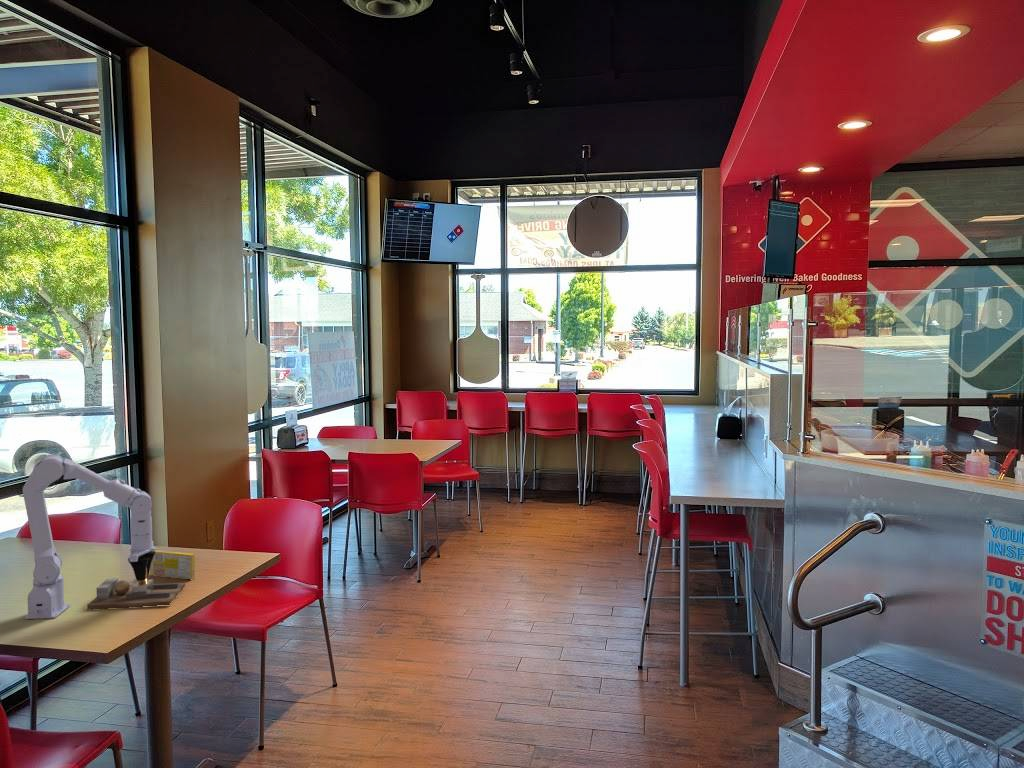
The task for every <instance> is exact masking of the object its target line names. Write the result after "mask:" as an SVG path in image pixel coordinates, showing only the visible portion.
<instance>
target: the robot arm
mask: <svg viewBox="0 0 1024 768" xmlns="http://www.w3.org/2000/svg"><path fill="white" fill-rule="evenodd" d="M62 476H63V480H73V479H76V480H78V481H80V482H83V483H84V484H88V485H90V486H92V487H94V488H96V489H99V490H101V491H103V497H105V498H107V499H108V500H110V501H112V502H114V503H117V504H118V505H120V506H123V507H125V508H129V510H130V513H131V514H130V520H129V521H130V522H129V523H130V526H129V527H130V550H129V553H130V554H129V556H128V559H127V561H128V563H129V565H130V566H131V568H132V570H133V573H134V576H135V579H136V582H138V581H141V580H145V577H146V569H147V578H148V577H149V576H150V566H151V562H152V560H153V557H154V555H155V550H158V547H157V546H154V542H155V541H153V517H152V508H153V501H152V497H151V496H150V494H149V493H147V492H146V491H144V490H141V488H135V487H134V486H131V485H128V484H127V483H126V481H125V480H124V479H120V480H119V479H117V478H116V479H115V478H114V479H113V480H112V479H111V480H109V479H107V478H106V477H104V476H101V475H99V474H98V473H96V472H95V471H92V470H91V469H89V468H87V467H85V466H83V465H81V464H80V463H77V462H76V461H73V460H71V459H69V458H66V457H65V458H64V457H63V456H62V455H59V454H56V453H52V454H51V453H50V454H48V455H45V456H44V457H43V458H42V459H40V460H39V461H38V462H37V463H36V465H35V466H34V467H33V469H32V471H31V473H30V474H29V476H28V478H27V480H26V482H25V484H24V485H23V486H22V495H23V501H24V505H25V509H26V510H25V511H26V515H27V519H28V525H29V530H30V534H31V535H30V536H31V541H32V546H33V547H32V548H33V553H34V555H33V556H34V569H33V572H32V577H33V579H32V589H31V590H30V591H29V593H28V595H27V615H25V616H24V620H32V619H36V620H37V619H38V620H39V619H53V618H54V619H55V618H57V617H58V616H59V615H61V614H62V613H63V612H65V610H67V609H68V608H69V607H70V606H71V603H65V596H64V595H65V594H64V593H65V590H64V575H62V574H61V568H62V566H63V560H62V558H61V557H60V556H59V554H58V553H57V549H56V546H55V544H54V541H53V535H52V529H51V525H50V520H49V515H48V514H49V513H48V507H47V503H46V502H47V501H46V498H45V493H44V491H46V489H47V488H48V487H49V486H50V484H52V483H54V482H56V481H58V480H59V479H61V478H62Z"/></svg>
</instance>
